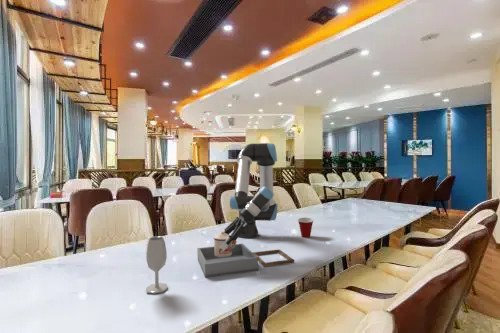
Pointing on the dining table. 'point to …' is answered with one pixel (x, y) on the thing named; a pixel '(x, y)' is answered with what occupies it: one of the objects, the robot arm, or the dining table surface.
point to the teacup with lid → (219, 241)
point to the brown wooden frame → (289, 260)
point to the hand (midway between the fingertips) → (219, 246)
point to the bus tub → (227, 261)
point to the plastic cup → (305, 226)
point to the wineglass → (156, 262)
